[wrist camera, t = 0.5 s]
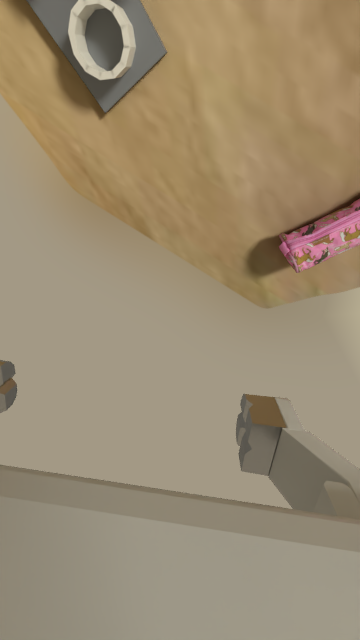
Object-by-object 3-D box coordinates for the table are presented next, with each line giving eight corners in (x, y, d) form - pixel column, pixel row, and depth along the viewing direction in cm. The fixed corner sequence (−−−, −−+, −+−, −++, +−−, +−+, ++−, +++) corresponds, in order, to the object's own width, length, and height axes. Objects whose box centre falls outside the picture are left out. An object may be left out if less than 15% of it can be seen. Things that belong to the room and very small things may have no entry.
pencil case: (392, 164, 48) (422, 181, 41) (399, 210, 52) (426, 231, 46) (270, 228, 56) (279, 250, 50) (286, 262, 61) (296, 286, 55)
